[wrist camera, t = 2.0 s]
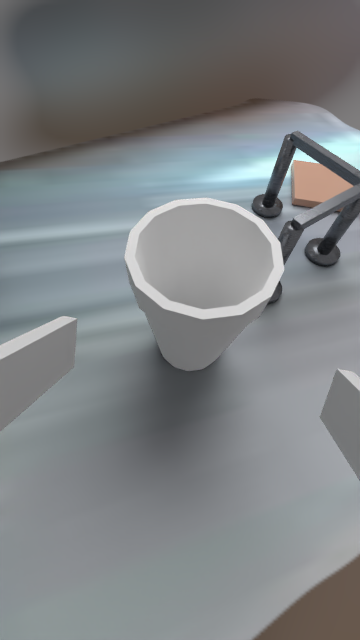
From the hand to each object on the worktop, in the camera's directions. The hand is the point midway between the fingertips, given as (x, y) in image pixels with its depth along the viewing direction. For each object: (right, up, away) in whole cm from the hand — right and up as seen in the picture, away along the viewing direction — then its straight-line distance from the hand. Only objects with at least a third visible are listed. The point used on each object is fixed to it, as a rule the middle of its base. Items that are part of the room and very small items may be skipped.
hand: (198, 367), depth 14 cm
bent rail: (+13, +11, +21) cm, 27 cm away
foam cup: (0, 0, +14) cm, 14 cm away
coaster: (+20, +22, +26) cm, 40 cm away
